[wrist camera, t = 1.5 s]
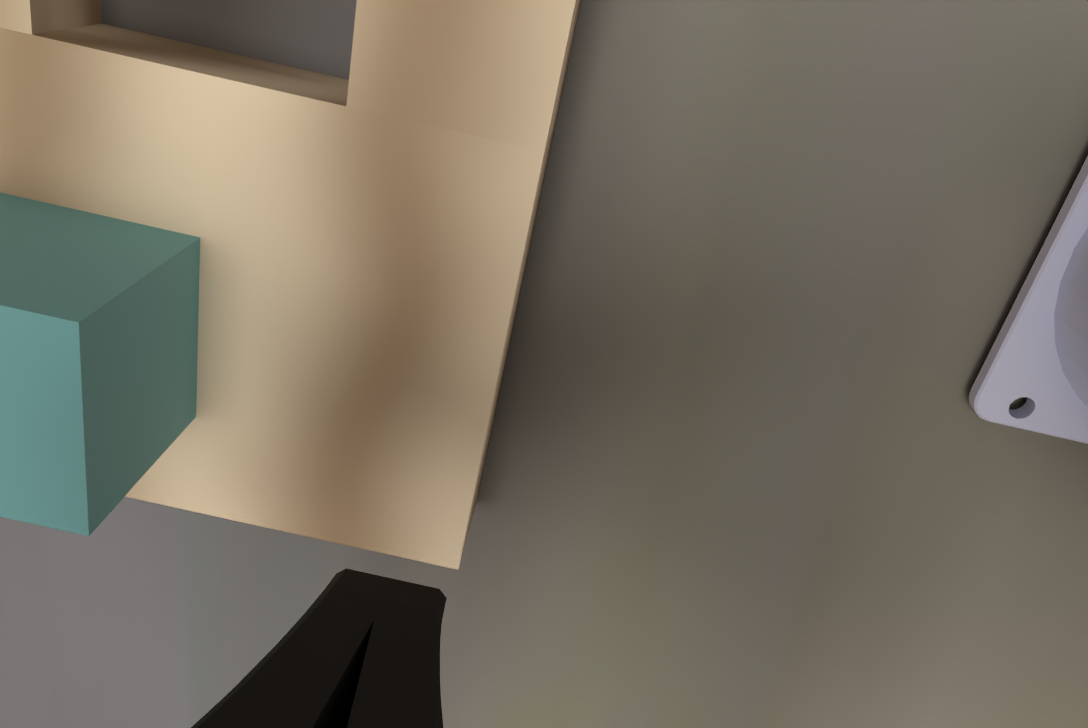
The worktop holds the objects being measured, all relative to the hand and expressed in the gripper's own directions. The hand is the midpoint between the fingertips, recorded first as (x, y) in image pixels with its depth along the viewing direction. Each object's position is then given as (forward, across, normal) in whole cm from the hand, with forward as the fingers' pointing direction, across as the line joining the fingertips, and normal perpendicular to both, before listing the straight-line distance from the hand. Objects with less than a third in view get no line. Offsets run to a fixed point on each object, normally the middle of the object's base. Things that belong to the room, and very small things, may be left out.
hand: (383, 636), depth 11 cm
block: (+7, +8, 0) cm, 10 cm away
